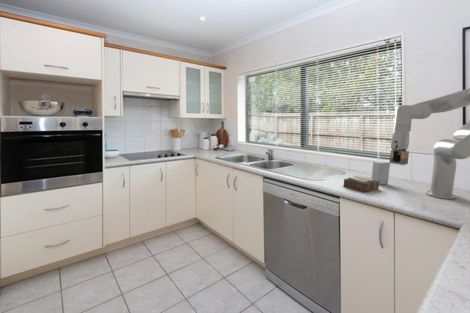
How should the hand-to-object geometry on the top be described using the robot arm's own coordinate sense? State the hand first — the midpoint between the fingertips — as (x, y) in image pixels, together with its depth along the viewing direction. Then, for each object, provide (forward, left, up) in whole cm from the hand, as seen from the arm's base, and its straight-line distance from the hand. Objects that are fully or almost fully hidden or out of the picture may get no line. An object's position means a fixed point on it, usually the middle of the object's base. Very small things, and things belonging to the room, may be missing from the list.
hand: (398, 161), depth 136 cm
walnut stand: (+4, -18, -19) cm, 27 cm away
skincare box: (-17, -18, -20) cm, 31 cm away
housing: (0, 0, -1) cm, 1 cm away
